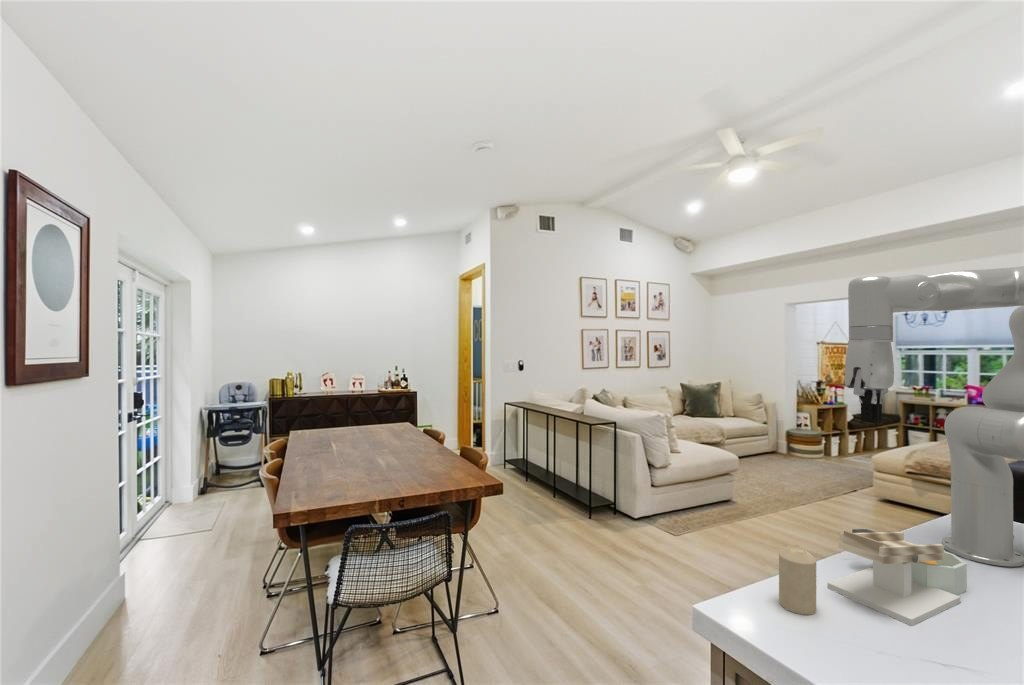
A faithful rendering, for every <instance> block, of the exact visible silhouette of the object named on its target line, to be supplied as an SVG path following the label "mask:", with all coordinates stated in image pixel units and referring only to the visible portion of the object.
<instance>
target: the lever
mask: <svg viewBox="0 0 1024 685" xmlns="http://www.w3.org/2000/svg"><path fill="white" fill-rule="evenodd" d="M904 536H905V532H902V531H887V532H886V531H885V532H884V531H883V532H882V531H881V532H880V531H879V532H877V531H874V530H870V529H867V528H857V529H852V531H849V530H843V532H840V533H839V537H838V538H839V539H838V540H839V541H838V549H839V550H843V551H845V552H848V553H851V554H853V555H856V556H859V557H862V558H865V559H868V560H870V561H871V562H873V561H875V562H878V563H881V564H891V563H905V562H914V563H917V562H919V561H933V560H943V555H944V551H945V548H944V545H942V543H934V544H933V543H932V544H916V543H913V542H910V541H906V540H904V538H905V537H904Z"/></svg>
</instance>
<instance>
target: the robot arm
mask: <svg viewBox="0 0 1024 685" xmlns="http://www.w3.org/2000/svg"><path fill="white" fill-rule="evenodd" d="M847 293H848V294H847V295H848V305H847V306H848V307H847V308H848V344H847V347H846V348H847V349H846V355H845V356H846V357H845V364H844V365H845V366H844V368H845V369H844V385H845V387H846V388H848V389H853V395H855V396H856V397H857V396H858V400H859V403H860V422H864V423H869V424H881V423H882V422H883V403H884V395H885V394H888V393H889V388H890V389H891V387H892V386H893V385H894V383H895V382H894V381H895V365H894V354H893V346H892V343H894V313H905V312H906V313H907V312H910V313H911V312H925V311H926V312H928V311H931V312H933V311H934V312H938V311H939V312H941V311H943V312H948V311H949V312H950V311H951V312H953V311H966V310H967V311H968V310H979V309H995V308H996V309H998V308H1009V307H1017V308H1015V309H1014V310H1013V311H1012V312H1011V313H1010V316H1009V320H1008V327H1009V330H1010V335H1011V337H1012V342H1013V347H1014V350H1013V354H1012V356H1011V358H1010V359H1009V360H1008V361H1007V362H1006V363H1005V364H1004V365H1003V367H1001V369H1000V370H999V371H998V372H997V373H996V374H995V375H994V377H992V378H991V380H990V381H989V382H988V383H987V385H986V386H985V388H984V389H983V391H982V393H981V400H982V402H983V404H984V405H985V407H982V406H963V407H958V408H956V409H954V410H952V411H950V413H949V414H948V415H947V416H946V417H945V420H944V427H943V429H944V434H945V438H946V442H947V445H948V446H947V447H948V450H949V455H950V496H951V497H950V522H951V523H950V530H951V533H950V536H949V537H944V538H942V540H941V544H942V545H944V550H945V551H947V552H949V553H952V554H955V555H956V556H957V557H960V558H964V559H968V560H971V561H974V562H978V563H982V564H987V565H992V566H997V567H1007V568H1008V567H1011V568H1013V567H1014V568H1015V567H1021V566H1023V565H1024V555H1022V554H1021V553H1019V552H1018V551H1016V550H1014V540H1015V535H1014V477H1013V471H1012V470H1011V468H1010V464H1009V463H1008V462H1007V460H1006V458H1007V459H1008V458H1009V459H1013V460H1018V461H1024V265H1023V266H1014V267H1004V268H1003V267H1002V268H1000V267H999V268H991V269H990V268H987V269H967V270H958V271H951V272H945V273H943V272H942V273H940V274H939V273H938V274H933V275H929V276H927V275H923V274H909V275H903V276H892V277H889V276H884V275H872V276H869V275H868V276H863V277H862V276H861V277H856V278H854V279H852V280H850V281H849V283H848V292H847Z"/></svg>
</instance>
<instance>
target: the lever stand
mask: <svg viewBox="0 0 1024 685" xmlns="http://www.w3.org/2000/svg"><path fill="white" fill-rule="evenodd" d="M826 584H827V585H826V587H827V589H829V590H831V591H833V592H836V593H838V594H840V595H842V596H845V597H847V598H849V599H851V600H853V601H855V602H858V603H860V604H862V605H864V606H867V607H869V608H871V609H873V610H876V611H878V612H880V613H882V614H884V615H886V616H888V617H890V618H893V619H895V620H898V621H900V622H902V623H905V624H907V625H909V626H915V625H916V624H918V623H920V622H921V623H922V622H923V621H925V620H927V619H929V618H931V617H934V616H935V615H937V614H939V613H942V612H943V611H945V610H948V609H950V608H953V607H954V606H957V605H958V604H960V603H961V596H959V595H954V594H951V593H949V592H946V591H943V590H941V589H938V588H933V587H927V586H923V585H921V584H918V583H915V582H913V581H911V562H905V563H891V564H881V563H878V562H875V561H872V566H871V567H868V568H865V569H863V570H859V571H857V572H854V573H850V574H848V575H845V576H842V577H839V578H836V579H833V580H831V581H828V582H827V583H826Z"/></svg>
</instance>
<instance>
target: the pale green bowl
mask: <svg viewBox="0 0 1024 685" xmlns="http://www.w3.org/2000/svg"><path fill="white" fill-rule="evenodd" d="M935 561H936V562H937V563H938V564H939V565H935V564H927V563H924V562H921V561H919V562H917V563H914V562H911V581H913V582H915V583H918V584H921V585H923V586H927V587H933V588H938V589H941V590H943V591H946V592H949V593H951V594H954V595H957V596H959V595H961V594H964V593H966V592H967V591H968V590H967V588H968V582H967V581H968V579H967V578H968V577H967V576H968V575H967V574H968V573H967V572H968V570H967V565H968V564H967V562H965V561H964V560H963V559H961V557H960V556H958V555H956V554H954V553H951V552H950V551H947V550H944V555H943V560H935Z"/></svg>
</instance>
